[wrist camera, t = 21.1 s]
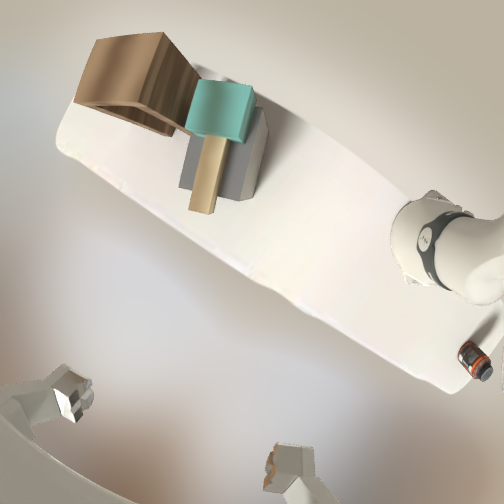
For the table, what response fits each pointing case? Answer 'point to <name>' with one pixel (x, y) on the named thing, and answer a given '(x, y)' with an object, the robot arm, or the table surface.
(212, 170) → the teal-headed mallet
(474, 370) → the supplement bottle
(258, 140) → the gray arch
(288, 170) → the table surface
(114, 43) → the walnut arch
